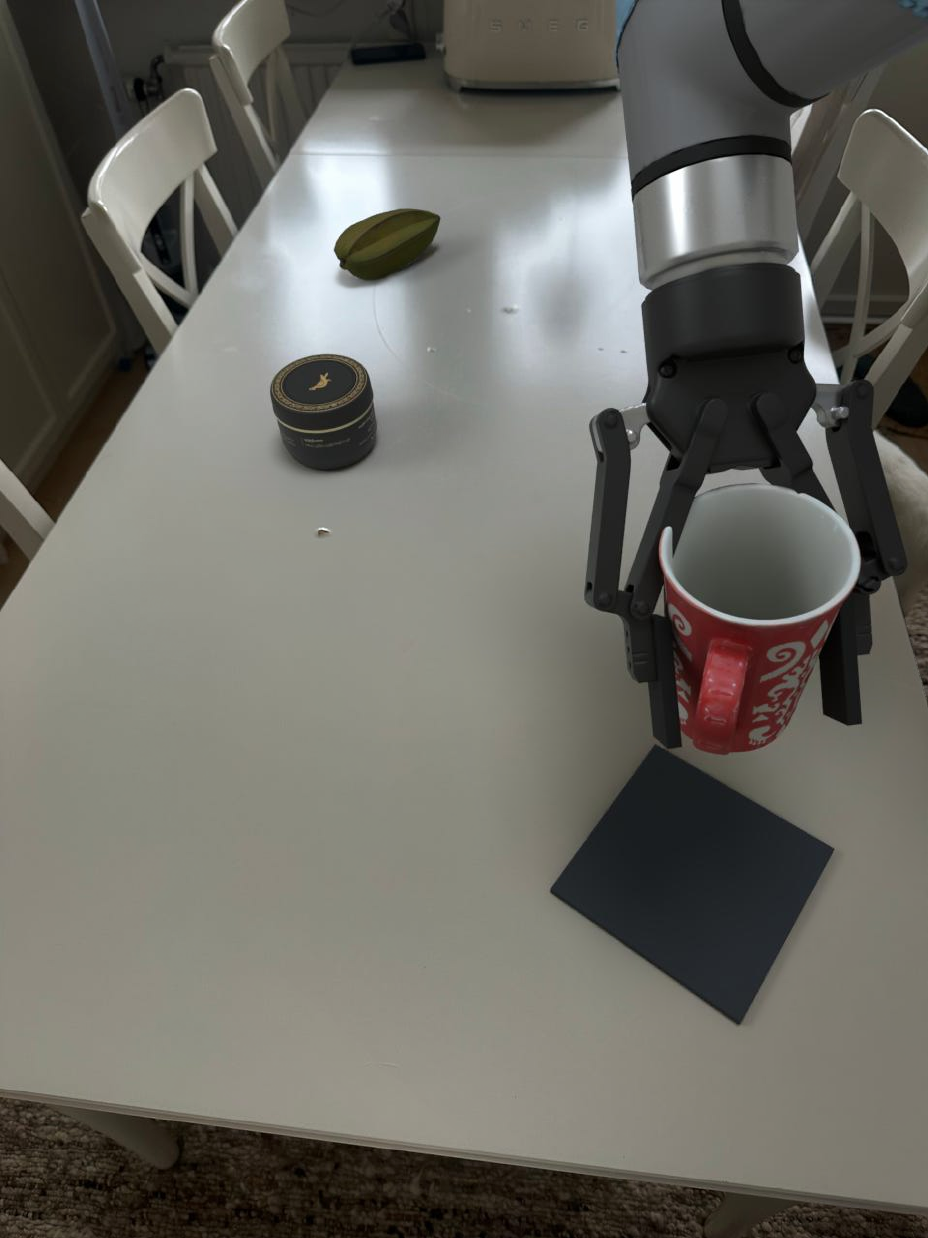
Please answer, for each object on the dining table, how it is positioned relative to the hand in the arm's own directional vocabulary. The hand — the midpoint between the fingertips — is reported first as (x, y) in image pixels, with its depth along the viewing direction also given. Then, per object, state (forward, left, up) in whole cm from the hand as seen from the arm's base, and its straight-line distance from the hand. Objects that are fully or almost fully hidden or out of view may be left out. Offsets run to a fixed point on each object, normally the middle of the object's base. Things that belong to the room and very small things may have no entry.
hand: (754, 730), depth 45 cm
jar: (+52, -19, -19) cm, 59 cm away
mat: (0, 0, -19) cm, 19 cm away
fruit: (+70, -49, -19) cm, 88 cm away
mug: (+2, -2, -5) cm, 6 cm away
